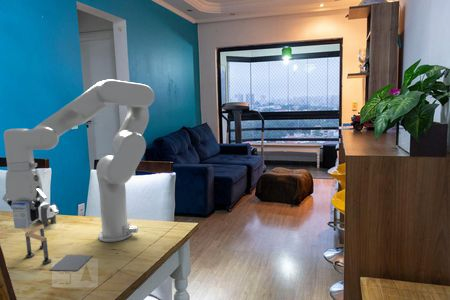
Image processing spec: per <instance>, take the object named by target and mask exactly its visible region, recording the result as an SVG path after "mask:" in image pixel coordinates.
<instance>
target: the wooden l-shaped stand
mask: <svg viewBox="0 0 450 300" xmlns="http://www.w3.org/2000/svg"><path fill="white" fill-rule="evenodd" d="M38 231H39V233H40V235H39V234H35V233H36V232H38ZM24 233H25V234H24V235H25V242H26V243H25V244H26V252H27V254H25V259H31V258H33V257H35V256H34V255H35V254H34V253H33V252H32V244H31V243H32V242H31V239H35V240H37V241H40V243H41V245H40V246H39V249H40V250H43V259H44V260H42V265H49V264H50V263H52V260H51V259H50V258H49V250H48V239H47V237H46V236H45V226H44V225H43V224H40V225H39V224H38V226H36V227H33V228H32V229H29V230H28V231H26V232H24Z"/></svg>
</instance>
